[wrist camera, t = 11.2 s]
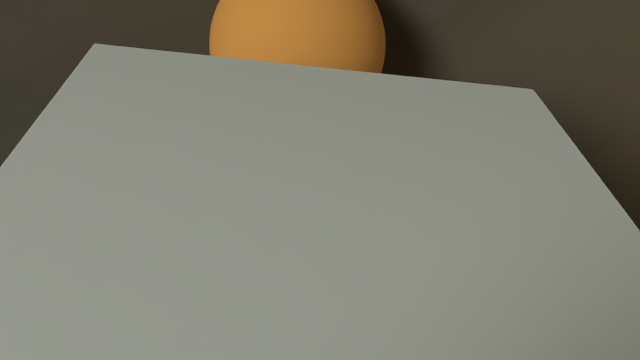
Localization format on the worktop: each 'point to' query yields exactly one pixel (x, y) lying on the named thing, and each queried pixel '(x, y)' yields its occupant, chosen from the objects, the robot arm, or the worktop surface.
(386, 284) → the pale grey cube
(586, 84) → the worktop surface
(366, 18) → the ball
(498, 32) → the worktop surface
